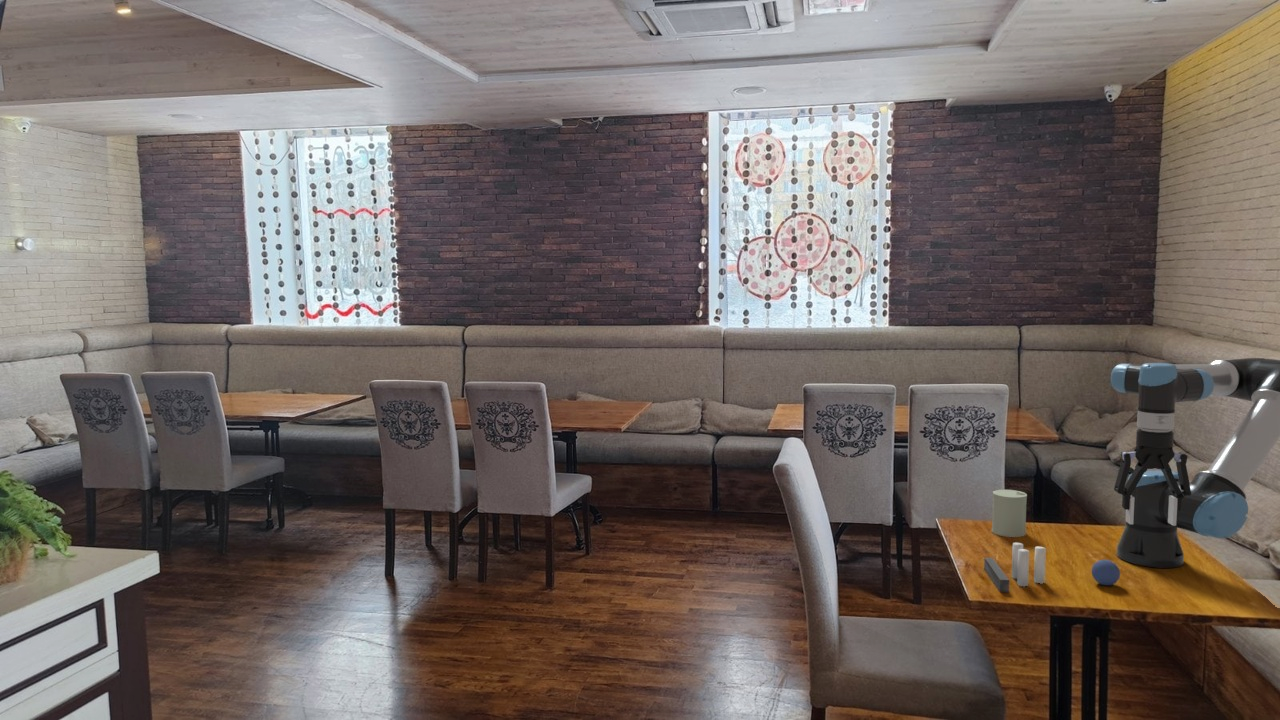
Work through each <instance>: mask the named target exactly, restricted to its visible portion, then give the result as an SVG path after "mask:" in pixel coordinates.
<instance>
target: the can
mask: <svg viewBox="0 0 1280 720" xmlns="http://www.w3.org/2000/svg"><path fill="white" fill-rule="evenodd" d="M1027 498H1028V494H1027V493H1026V492H1024V491H1020V490H1015V489H996V490H994V491H992V518H991V519H992V520H991V521H992V524H991V532H992V534H995V535H997V536H1000V537H1007V538H1022V537H1025V536H1026V535H1027V530H1026V529H1027V528H1026V526H1027V525H1026V523H1027ZM1024 535H1025V536H1024ZM1021 536H1022V537H1021Z"/></svg>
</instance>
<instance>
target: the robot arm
mask: <svg viewBox="0 0 1280 720" xmlns="http://www.w3.org/2000/svg"><path fill="white" fill-rule="evenodd" d="M1110 385H1111V387H1112V388H1113V389H1114V390H1115V391H1116V392H1118V393H1124V394H1126V395H1137V396H1138V405H1137V413H1136V414H1137V416H1136V426H1137V427H1138V428H1137V430H1136V434H1135V435H1136V438H1135V439H1136V440H1135V445H1136V446H1135V448H1134V450H1133V451H1125V450H1123V451H1121V452H1120V458H1121V462H1120V466H1119V469H1118V472H1117V477H1116V480H1115V484H1114V487H1113V490H1114V492H1116V493H1117V494H1119V495H1121V497H1122V499H1121V507H1122V509H1123V510H1125V525H1124V530H1123V531H1122V534H1121V535H1120V539H1119V540H1118V543H1117V545H1116V556H1117V557H1118V558H1119V559H1120V560H1123V561H1125V562H1127V563H1131V564H1134V565H1138V566H1143V567H1147V568H1159V569H1163V568H1164V569H1170V568H1171V569H1173V568H1179V567H1181V566H1182V565H1184V559H1185V555H1184V552H1183V551H1184V550H1183V547H1182V545H1181V542H1180V538H1179V536H1178V529H1182V530H1184V531H1188V532H1192V533H1196V534H1199V535H1201V536H1204V537H1211V538H1216V539H1228V538H1230V537H1232V536H1234V535H1236V534H1237V533H1238V532H1239V531H1241V530H1242V528H1243V527H1244V525H1245V524H1246V522H1247V519H1248V518H1247V514H1248V513H1249V505H1248V502H1247V494H1246V492H1245V489H1246V487H1247V486H1248V484H1249V483H1250V481H1251V480H1252V478H1253V477H1254V476H1255V474H1256V473H1257V471H1258V469H1259V468H1260V467H1261V465H1262V464H1263V462H1264V461H1265V459H1266V458H1267V456H1268V455H1269V453H1270V452H1271V450H1272V449H1273V448H1274V446H1275V445H1276V444H1277V441H1278V440H1279V439H1280V359H1274V358H1273V359H1272V358H1264V357H1248V358H1236V359H1235V358H1234V359H1224V360H1223V359H1221V360H1220V359H1219V360H1214V361H1212V362H1210V363H1208V364H1207V363H1205V364H1203V363H1199V364H1197V363H1195V364H1194V363H1191V364H1190V363H1188V364H1187V363H1185V364H1182V363H1181V364H1179V363H1178V364H1173V363H1166V362H1165V363H1164V362H1147V363H1143V364H1138V363H1137V364H1136V363H1132V362H1131V363H1118V364H1117V365H1115V366H1114V368H1113V369H1112V371H1111V373H1110ZM1211 395H1212V396H1215V397H1228V398H1235V399H1237V400H1244V401H1249V402H1252V403H1253V405H1252V406H1251V408H1250V409H1249V411H1247V413H1246V415H1244V418H1243V419H1242V420H1241V422H1240V423H1239V424H1238V426H1237V428H1236V429H1235V430H1234V431H1233V433H1232V435H1231V436H1230V437H1229V439H1228V441H1227V442H1226V443H1225V444H1224V446H1223V447H1222V449H1221V451H1220V452H1219V454H1218V455H1217V456H1216V458H1214V461H1213V462H1212V463H1211V465H1210V466H1209V467H1208V469H1207V470H1200V471H1198V472H1197V473H1195V475H1194V477H1193V478H1192V479H1191V481H1190V480H1189V479H1190V478H1189V473H1188V468H1187V461H1188V455H1187V454H1185V453H1184V452H1181V451H1179V452H1175V451H1174V448H1173V447H1174V436H1175V435H1174V434H1175V433H1174V432H1173V430H1174V428H1175V415H1176V414H1175V412H1176V411H1175V409H1176V403H1185V402H1198V401H1200V400H1204V399H1207V398H1209V397H1210V396H1211ZM1134 458H1136V460H1137V463H1136V464H1135V466H1134V470H1133V471H1132V473H1130V469H1131V465H1132V462H1133V460H1134ZM1172 460H1174V461H1175V466H1176V470H1177V471H1172V470H1173V469H1172V468H1171V465H1170V464H1169V463H1171V461H1172ZM1153 469H1156V470H1153ZM1129 473H1130V474H1129Z"/></svg>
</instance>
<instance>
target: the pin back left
mask: <svg viewBox="0 0 1280 720" xmlns="http://www.w3.org/2000/svg"><path fill="white" fill-rule="evenodd" d="M1029 565H1030V551H1029V549H1025V548H1023V549H1019V550H1018V572H1017V579H1016V585H1017V586H1019V587H1022V586H1023V587H1022V588H1026V587H1025V586H1027V587H1028V586H1029V568H1030V567H1029Z"/></svg>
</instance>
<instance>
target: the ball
mask: <svg viewBox="0 0 1280 720" xmlns="http://www.w3.org/2000/svg"><path fill="white" fill-rule="evenodd" d="M1091 574H1092V575H1091V576H1092V578H1093V579H1094V580H1095V582H1097V583H1099V584H1100V585H1102V586H1112V585H1115V584H1116V583H1117V582H1118V581H1119V579H1120V577H1121V571H1120V569H1119V566H1118V565H1117V564H1116V563H1115V562H1113V561H1111V560H1109V559H1100V560H1097V561H1096V562H1095V563H1094V564H1093V565H1092V567H1091Z"/></svg>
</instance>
